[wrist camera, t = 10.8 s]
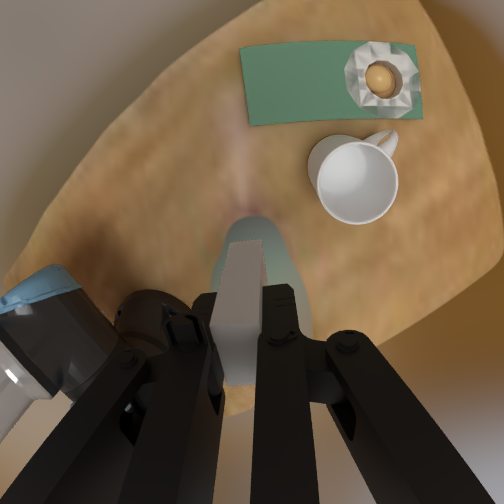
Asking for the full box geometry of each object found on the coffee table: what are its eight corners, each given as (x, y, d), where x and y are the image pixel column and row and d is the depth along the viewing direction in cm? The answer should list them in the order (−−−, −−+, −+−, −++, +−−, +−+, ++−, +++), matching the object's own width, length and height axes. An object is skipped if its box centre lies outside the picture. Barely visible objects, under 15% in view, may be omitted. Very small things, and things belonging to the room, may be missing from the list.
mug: (399, 152, 38) (435, 167, 28) (336, 210, 42) (353, 240, 32) (358, 103, 36) (386, 102, 26) (292, 164, 40) (298, 182, 30)
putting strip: (251, 125, 38) (250, 126, 36) (241, 51, 34) (239, 47, 32) (415, 118, 36) (422, 119, 33) (407, 48, 32) (415, 45, 29)
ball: (359, 92, 34) (387, 96, 32) (358, 64, 32) (386, 67, 30) (369, 89, 36) (394, 92, 34) (368, 63, 34) (394, 66, 32)
